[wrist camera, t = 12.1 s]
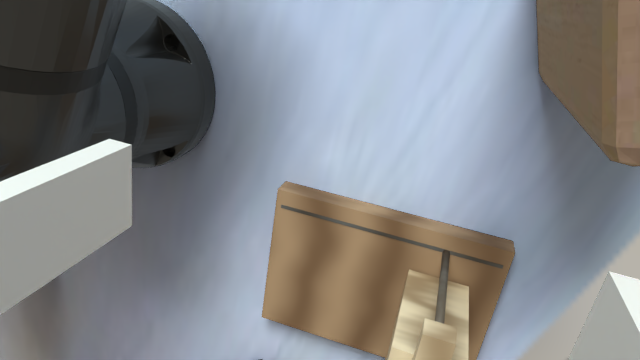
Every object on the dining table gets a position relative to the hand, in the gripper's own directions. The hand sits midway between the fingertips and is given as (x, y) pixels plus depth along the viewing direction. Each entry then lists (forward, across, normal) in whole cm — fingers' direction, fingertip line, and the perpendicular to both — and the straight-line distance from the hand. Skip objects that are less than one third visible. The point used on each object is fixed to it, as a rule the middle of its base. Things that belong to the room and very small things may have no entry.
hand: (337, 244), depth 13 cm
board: (+27, 0, -18) cm, 32 cm away
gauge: (+26, +5, -19) cm, 33 cm away
